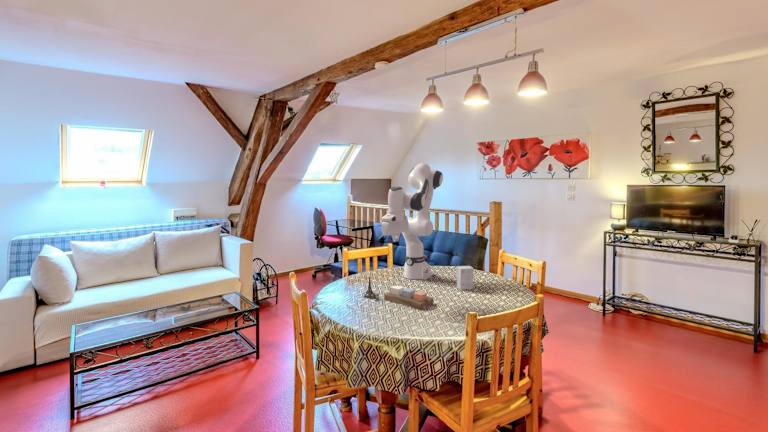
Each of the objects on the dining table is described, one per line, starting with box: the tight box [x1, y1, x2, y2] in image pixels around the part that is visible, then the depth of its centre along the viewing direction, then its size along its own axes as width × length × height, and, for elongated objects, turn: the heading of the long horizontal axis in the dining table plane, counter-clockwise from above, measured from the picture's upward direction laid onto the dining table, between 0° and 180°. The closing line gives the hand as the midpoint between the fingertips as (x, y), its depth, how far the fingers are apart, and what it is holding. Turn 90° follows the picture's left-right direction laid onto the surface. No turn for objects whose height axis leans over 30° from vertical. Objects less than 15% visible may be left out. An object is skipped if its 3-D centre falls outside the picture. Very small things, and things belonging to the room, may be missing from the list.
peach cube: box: [413, 290, 428, 302], centre depth 210 cm, size 5×5×5 cm
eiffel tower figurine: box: [362, 275, 380, 302], centre depth 222 cm, size 15×10×13 cm
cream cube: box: [390, 285, 405, 296], centre depth 220 cm, size 5×5×5 cm
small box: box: [456, 265, 474, 291], centre depth 238 cm, size 8×6×13 cm
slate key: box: [402, 287, 416, 299], centre depth 215 cm, size 5×5×5 cm
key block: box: [383, 291, 434, 311], centre depth 215 cm, size 12×24×3 cm, turn 50°
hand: (395, 241), depth 221 cm, fingers closed
